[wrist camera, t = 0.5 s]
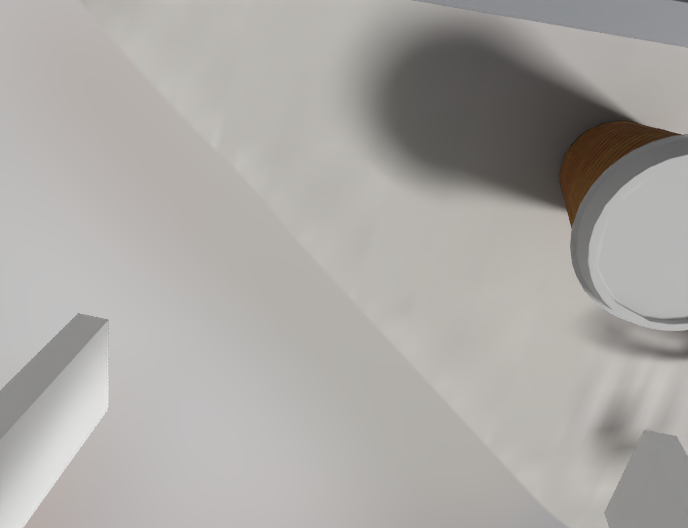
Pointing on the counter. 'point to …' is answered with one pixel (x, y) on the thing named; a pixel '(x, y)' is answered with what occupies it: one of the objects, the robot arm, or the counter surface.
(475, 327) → the counter surface
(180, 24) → the counter surface
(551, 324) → the counter surface
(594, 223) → the disposable coffee cup
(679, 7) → the housing
